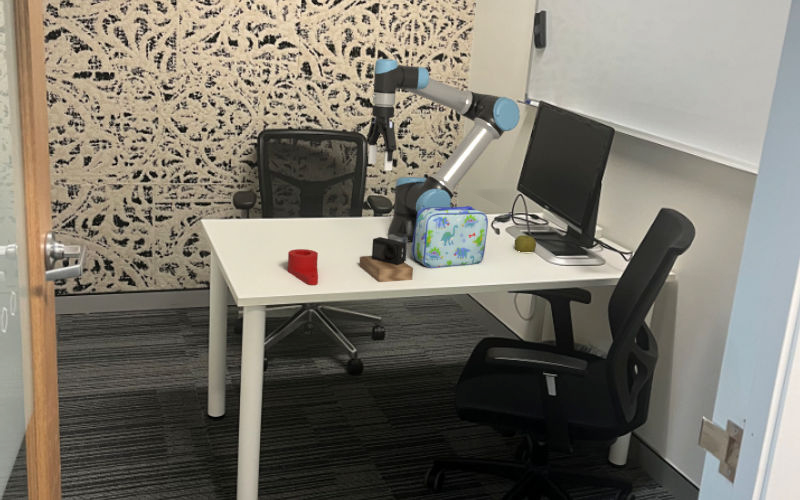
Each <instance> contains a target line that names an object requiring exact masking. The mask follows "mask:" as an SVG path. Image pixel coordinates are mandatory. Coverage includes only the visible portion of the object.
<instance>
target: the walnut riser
mask: <svg viewBox="0 0 800 500" xmlns="http://www.w3.org/2000/svg"><path fill="white" fill-rule="evenodd" d="M358 267H359V268H361V269H362V271H364V272H366V273H367V274H368V275H369V276H371V277H372V278H373V279H374V280H375V281H377V282H378V283H385V282H399V281H412V280H413V276H414V275H413V274H414V267H412V266H411V265H409V264H408V263H406V261H404V263H402V264H399V265H395V264H391V263H386V262H382V261H378V260H374V259H372V255H363V256H359V265H358Z"/></svg>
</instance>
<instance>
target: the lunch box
mask: <svg viewBox="0 0 800 500" xmlns="http://www.w3.org/2000/svg"><path fill="white" fill-rule="evenodd" d="M488 228H489V218H488V216H487V214H486V213H485V212H483V211H482V210H481V211H480V210H478V209H475V208H473V206H469V205H466V206H454V207H427V208H422V209H420V210H419V212H418V214H417V218H416V225H415V230H414V237H413V241H412V245H411V254H412V258H413V260H414V261H415V262H417V263H420V264H422V265H423V266H424V267H427V268H430V269H439V268H440V269H441V268H448V267H449V268H451V267H460V266H461V267H463V266H474V265H479V264H480V263H482V261H483V259H484V255H485V250H486V240H487V235H488Z"/></svg>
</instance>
